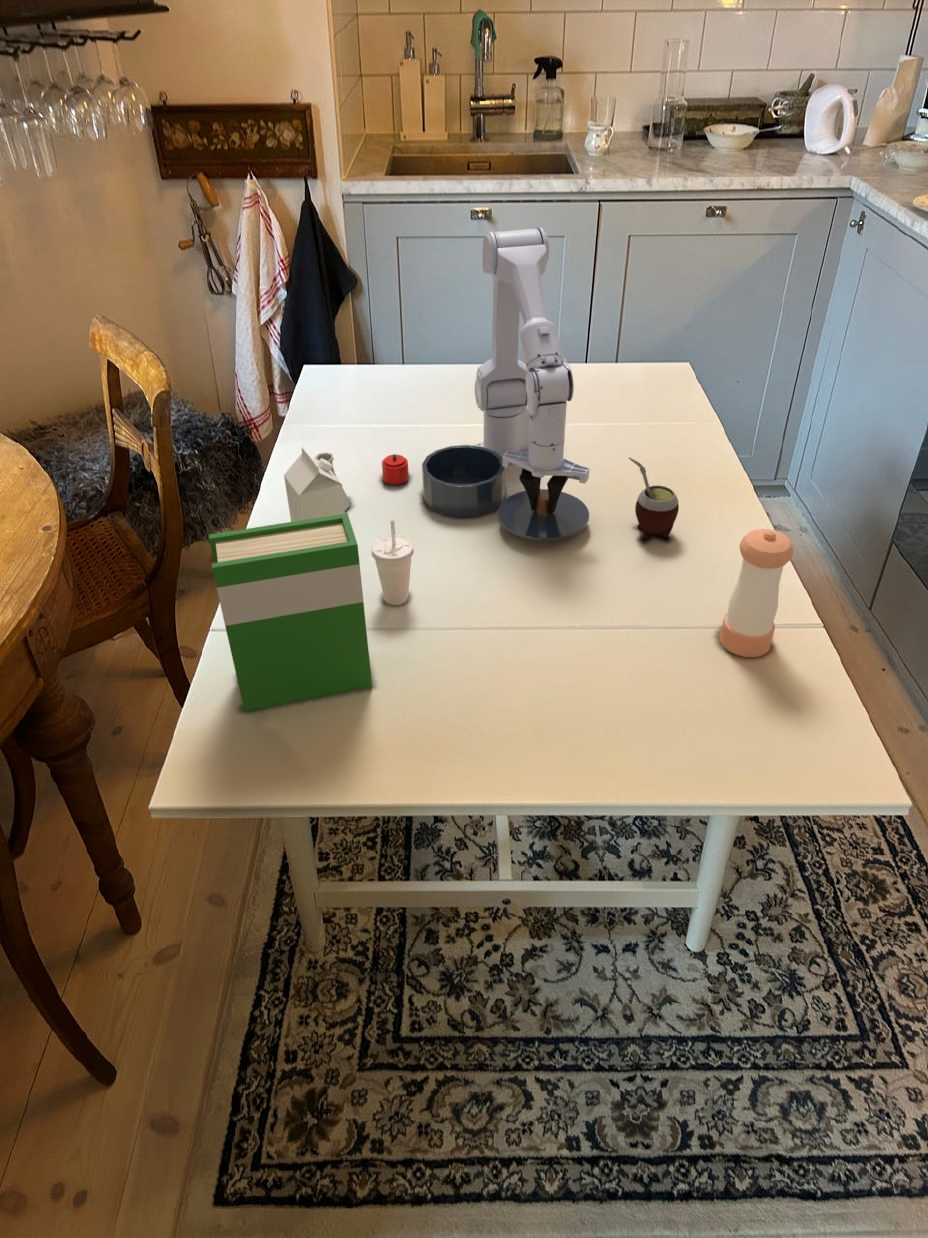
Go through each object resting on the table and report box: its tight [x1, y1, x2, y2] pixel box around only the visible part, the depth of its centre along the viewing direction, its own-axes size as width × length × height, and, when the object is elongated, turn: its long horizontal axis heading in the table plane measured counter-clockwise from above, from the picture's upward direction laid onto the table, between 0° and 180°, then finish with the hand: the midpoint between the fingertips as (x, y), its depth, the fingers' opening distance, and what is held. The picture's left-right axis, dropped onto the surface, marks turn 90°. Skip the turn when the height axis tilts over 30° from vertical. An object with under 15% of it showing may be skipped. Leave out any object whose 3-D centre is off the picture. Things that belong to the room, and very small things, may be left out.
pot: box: [421, 444, 507, 518], centre depth 168 cm, size 15×15×6 cm
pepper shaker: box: [719, 528, 794, 658], centre depth 131 cm, size 7×7×19 cm
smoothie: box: [370, 518, 415, 606], centre depth 142 cm, size 6×6×14 cm
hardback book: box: [208, 512, 373, 712], centre depth 124 cm, size 18×7×24 cm, turn 105°
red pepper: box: [381, 453, 410, 485], centre depth 173 cm, size 5×5×5 cm
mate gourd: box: [628, 456, 680, 543], centre depth 155 cm, size 8×8×15 cm
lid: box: [497, 488, 590, 541], centre depth 159 cm, size 16×16×4 cm
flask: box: [314, 452, 351, 511], centre depth 165 cm, size 7×7×10 cm
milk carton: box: [283, 446, 346, 522], centre depth 149 cm, size 7×7×19 cm
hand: (543, 509), depth 160 cm, fingers closed on lid, 2 cm apart
